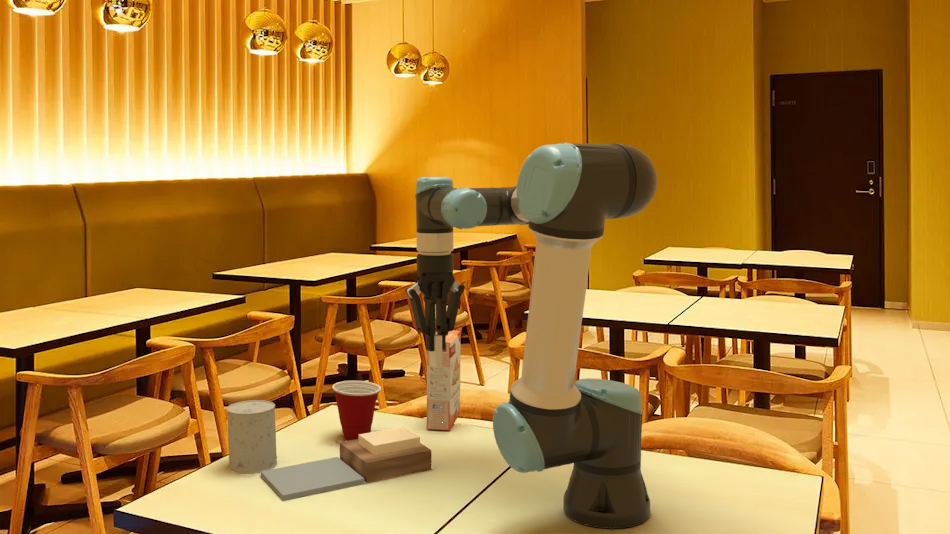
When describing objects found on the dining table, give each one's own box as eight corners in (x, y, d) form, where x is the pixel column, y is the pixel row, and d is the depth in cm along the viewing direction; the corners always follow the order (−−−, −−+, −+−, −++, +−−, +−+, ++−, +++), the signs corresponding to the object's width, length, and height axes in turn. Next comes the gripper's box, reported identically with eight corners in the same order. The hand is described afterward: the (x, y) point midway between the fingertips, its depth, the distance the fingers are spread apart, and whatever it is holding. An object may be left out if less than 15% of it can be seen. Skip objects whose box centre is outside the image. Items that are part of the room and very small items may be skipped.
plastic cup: (376, 446, 185) (375, 392, 184) (327, 445, 186) (326, 391, 185) (386, 430, 196) (385, 379, 194) (340, 429, 197) (338, 378, 195)
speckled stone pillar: (219, 465, 174) (217, 407, 172) (260, 453, 181) (258, 397, 179) (245, 477, 168) (243, 416, 166) (286, 464, 175) (284, 406, 173)
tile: (420, 446, 173) (419, 437, 173) (374, 455, 168) (374, 445, 168) (402, 435, 180) (402, 426, 180) (358, 443, 175) (358, 434, 174)
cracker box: (451, 431, 195) (451, 341, 192) (425, 430, 196) (424, 341, 193) (462, 413, 209) (461, 329, 206) (437, 412, 209) (437, 328, 207)
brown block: (431, 469, 171) (431, 450, 171) (366, 483, 164) (366, 462, 164) (401, 449, 183) (401, 431, 183) (339, 461, 176) (339, 442, 176)
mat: (364, 483, 164) (364, 478, 164) (283, 500, 156) (283, 495, 156) (337, 461, 176) (337, 456, 176) (260, 476, 168) (260, 471, 168)
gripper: (454, 249, 181) (454, 358, 184) (398, 253, 174) (399, 365, 177) (471, 252, 174) (472, 365, 178) (414, 256, 168) (416, 373, 171)
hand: (436, 365), depth 177 cm, fingers closed
